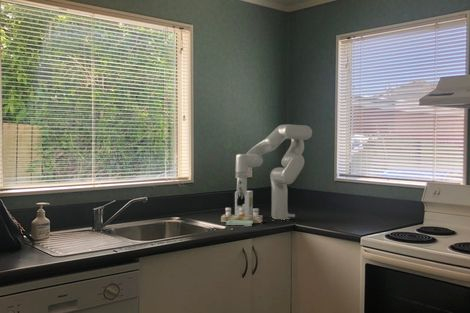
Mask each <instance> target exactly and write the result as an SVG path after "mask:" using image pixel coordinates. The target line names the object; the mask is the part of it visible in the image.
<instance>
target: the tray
mask: <svg viewBox="0 0 470 313" xmlns="http://www.w3.org/2000/svg"><path fill="white" fill-rule="evenodd" d="M252 224H253V221H243V220H228V221H227V222H226V223H225V226H226V225H244V226H243V227H249V226H251V227H252V226H253V225H254V224H253V225H252Z"/></svg>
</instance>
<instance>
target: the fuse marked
mask: <svg viewBox="0 0 470 313" xmlns="http://www.w3.org/2000/svg"><path fill="white" fill-rule="evenodd" d="M244 212H245V208H239V217H244V216H245V213H244Z"/></svg>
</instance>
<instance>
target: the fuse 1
mask: <svg viewBox="0 0 470 313" xmlns="http://www.w3.org/2000/svg"><path fill="white" fill-rule="evenodd" d="M225 215H226V216H231V215H232V208H231V207H225Z"/></svg>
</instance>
